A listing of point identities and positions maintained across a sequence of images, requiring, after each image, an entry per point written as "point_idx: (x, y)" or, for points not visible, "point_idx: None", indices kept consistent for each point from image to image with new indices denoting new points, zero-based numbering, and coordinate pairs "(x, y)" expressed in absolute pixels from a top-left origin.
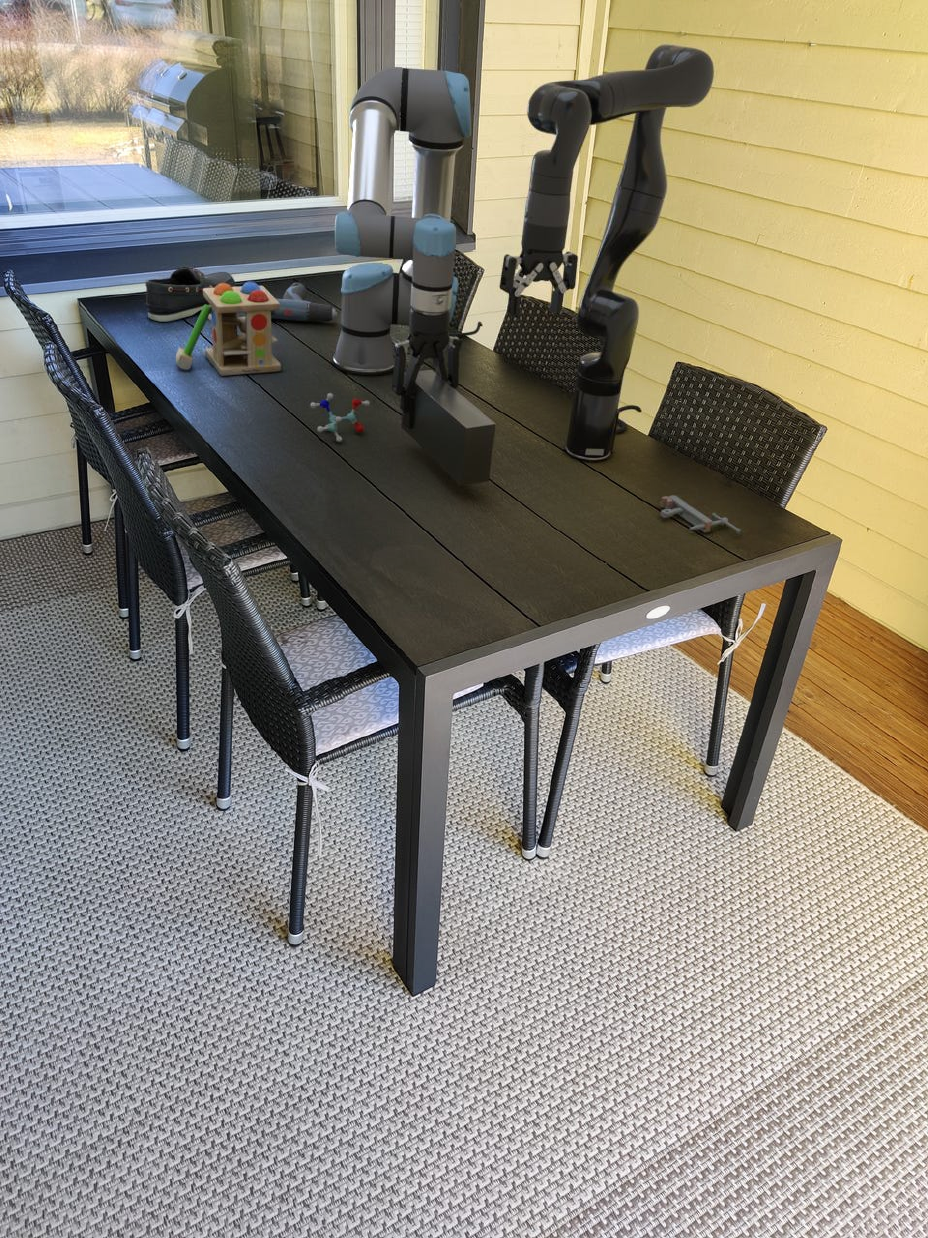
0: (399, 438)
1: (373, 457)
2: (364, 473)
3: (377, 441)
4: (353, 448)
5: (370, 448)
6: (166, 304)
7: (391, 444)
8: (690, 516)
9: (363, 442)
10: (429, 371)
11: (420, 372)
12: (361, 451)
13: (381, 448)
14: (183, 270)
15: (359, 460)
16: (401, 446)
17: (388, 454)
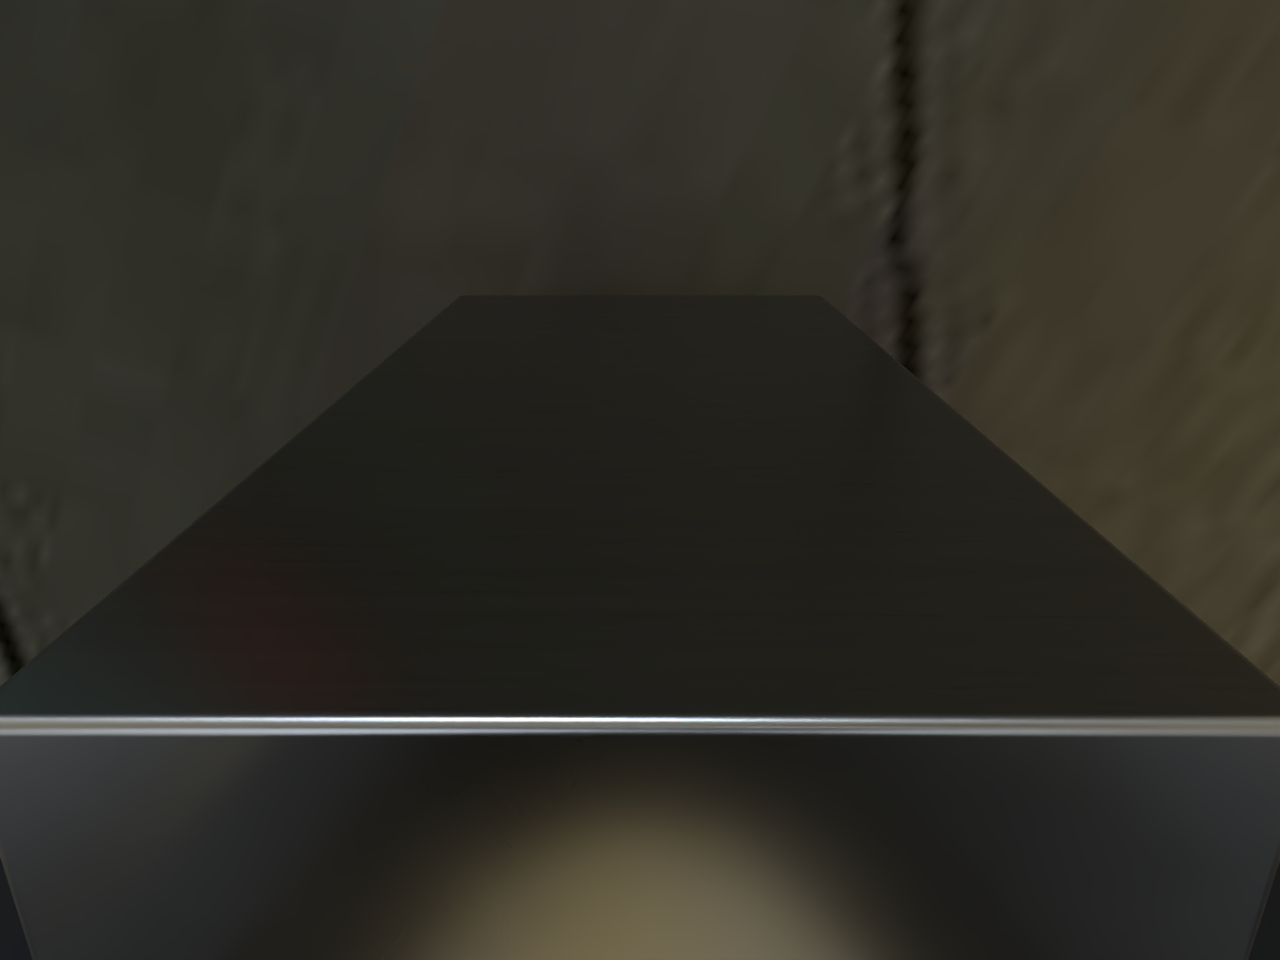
0: (575, 45)
1: (180, 385)
2: (35, 631)
3: (318, 45)
4: (27, 137)
5: (200, 191)
6: None
7: (438, 165)
8: None
9: (163, 22)
10: (1098, 871)
11: (678, 865)
12: (95, 229)
13: (309, 224)
14: None
15: (38, 404)
16: (519, 241)
17: (335, 368)
